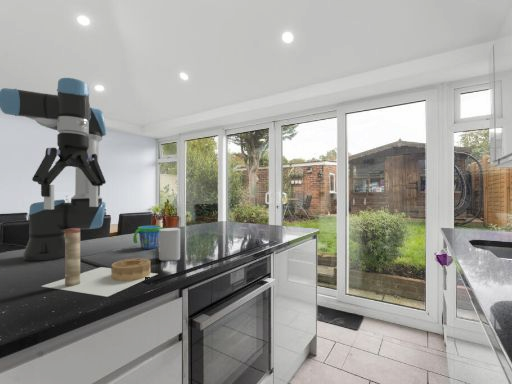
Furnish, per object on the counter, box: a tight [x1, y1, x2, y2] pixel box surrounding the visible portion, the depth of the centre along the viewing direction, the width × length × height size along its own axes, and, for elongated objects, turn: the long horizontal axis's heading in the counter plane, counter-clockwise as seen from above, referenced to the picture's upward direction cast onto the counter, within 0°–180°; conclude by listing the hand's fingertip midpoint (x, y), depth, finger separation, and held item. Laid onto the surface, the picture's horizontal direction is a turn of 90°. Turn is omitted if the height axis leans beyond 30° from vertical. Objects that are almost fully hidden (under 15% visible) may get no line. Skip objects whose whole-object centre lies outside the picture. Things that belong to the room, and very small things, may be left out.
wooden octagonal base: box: [110, 258, 152, 281], centre depth 86 cm, size 11×11×4 cm
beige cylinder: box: [64, 228, 81, 286], centre depth 78 cm, size 4×4×16 cm
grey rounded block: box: [158, 227, 181, 262], centre depth 109 cm, size 8×8×12 cm
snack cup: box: [132, 224, 164, 250], centre depth 130 cm, size 16×10×10 cm
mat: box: [41, 266, 158, 298], centre depth 82 cm, size 24×20×1 cm
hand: (73, 208), depth 78 cm, fingers open, 13 cm apart
